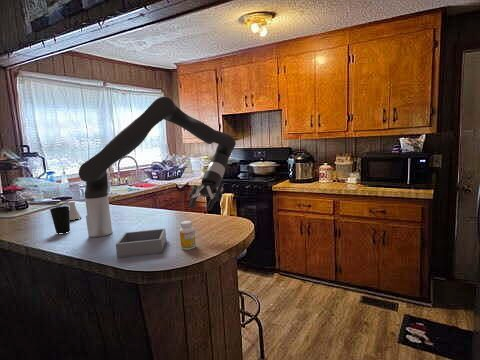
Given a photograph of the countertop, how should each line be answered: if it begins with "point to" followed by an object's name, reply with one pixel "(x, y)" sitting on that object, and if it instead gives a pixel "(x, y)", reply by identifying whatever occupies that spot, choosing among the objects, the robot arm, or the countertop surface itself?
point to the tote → (141, 243)
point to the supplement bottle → (187, 235)
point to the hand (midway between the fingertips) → (199, 208)
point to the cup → (61, 219)
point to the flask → (73, 212)
